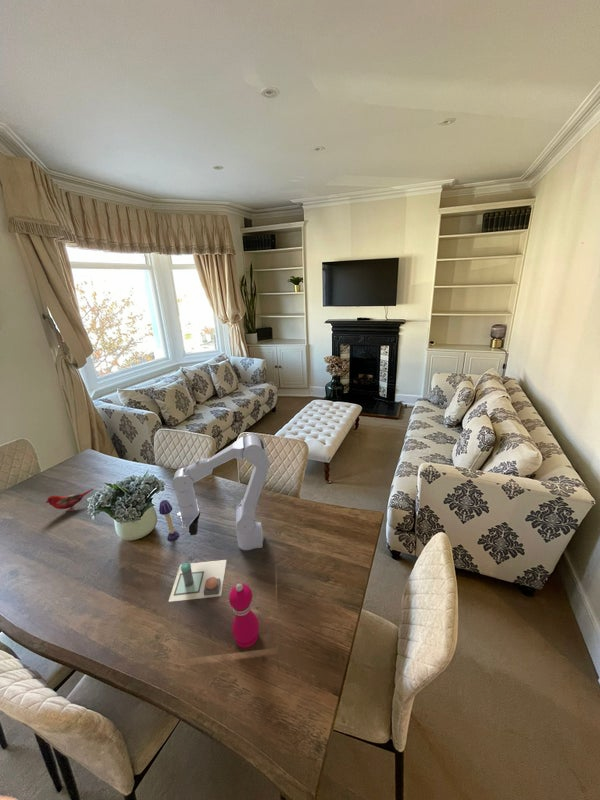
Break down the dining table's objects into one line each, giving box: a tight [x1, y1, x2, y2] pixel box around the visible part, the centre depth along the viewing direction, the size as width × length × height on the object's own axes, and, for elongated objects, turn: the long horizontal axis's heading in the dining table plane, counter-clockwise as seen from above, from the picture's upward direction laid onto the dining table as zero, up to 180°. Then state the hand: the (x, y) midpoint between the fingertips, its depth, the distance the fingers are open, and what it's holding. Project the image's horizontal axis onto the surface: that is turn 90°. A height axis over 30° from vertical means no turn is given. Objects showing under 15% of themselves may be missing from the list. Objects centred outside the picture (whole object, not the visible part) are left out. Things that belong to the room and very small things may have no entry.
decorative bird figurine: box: [45, 488, 94, 513], centre depth 145 cm, size 3×18×10 cm, turn 131°
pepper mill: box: [228, 583, 260, 648], centre depth 86 cm, size 7×7×20 cm
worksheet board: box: [168, 559, 227, 603], centre depth 107 cm, size 16×14×2 cm
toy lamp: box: [158, 499, 180, 541], centre depth 124 cm, size 5×5×17 cm
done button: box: [205, 577, 218, 590], centre depth 103 cm, size 4×4×3 cm
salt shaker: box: [181, 561, 194, 587], centre depth 105 cm, size 3×3×7 cm
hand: (194, 533), depth 115 cm, fingers closed
